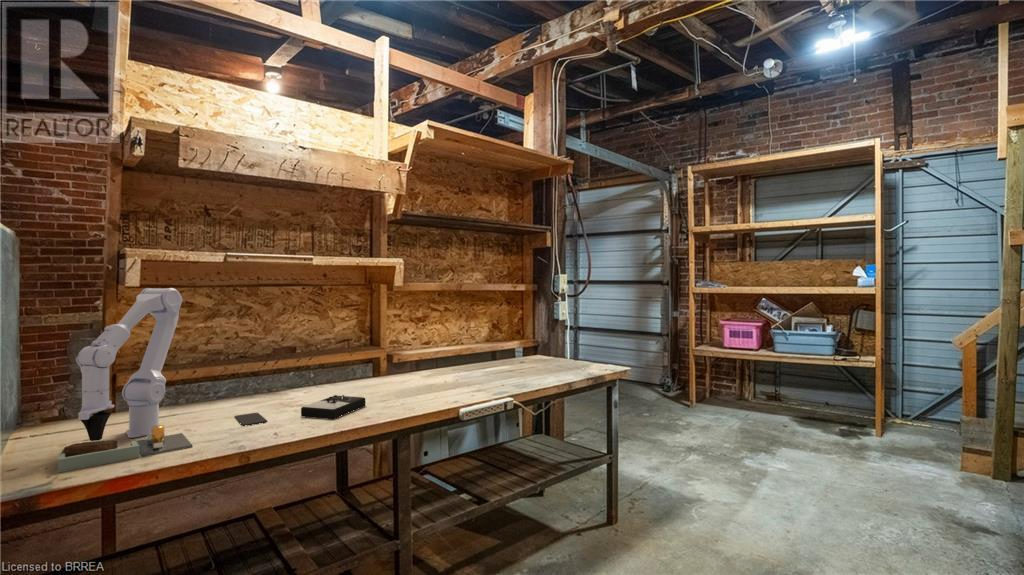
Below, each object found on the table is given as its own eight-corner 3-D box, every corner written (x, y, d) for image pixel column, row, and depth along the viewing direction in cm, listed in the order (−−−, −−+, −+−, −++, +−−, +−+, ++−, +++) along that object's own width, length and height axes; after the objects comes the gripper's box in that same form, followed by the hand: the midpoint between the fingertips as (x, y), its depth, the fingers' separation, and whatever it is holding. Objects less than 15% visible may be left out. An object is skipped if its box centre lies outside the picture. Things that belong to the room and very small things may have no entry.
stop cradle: (57, 466, 123) (57, 453, 123) (136, 451, 133) (136, 440, 133) (57, 472, 119) (57, 459, 119) (139, 457, 129) (139, 445, 129)
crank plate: (135, 443, 141) (135, 440, 141) (181, 435, 148) (181, 432, 148) (142, 456, 130) (142, 453, 130) (192, 447, 137) (192, 444, 137)
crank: (146, 440, 140) (146, 421, 140) (163, 437, 143) (163, 418, 143) (149, 449, 132) (149, 429, 132) (167, 446, 135) (167, 426, 135)
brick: (118, 457, 130) (117, 439, 130) (109, 462, 126) (109, 443, 126) (69, 460, 127) (69, 442, 127) (59, 466, 123) (59, 447, 123)
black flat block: (366, 407, 184) (366, 393, 184) (333, 420, 165) (333, 405, 165) (335, 404, 188) (335, 391, 187) (300, 417, 169) (300, 403, 169)
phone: (257, 412, 174) (268, 420, 162) (257, 414, 174) (268, 423, 162) (233, 415, 169) (242, 425, 157) (233, 418, 169) (242, 427, 157)
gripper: (101, 394, 131) (101, 446, 130) (124, 384, 144) (124, 431, 144) (68, 396, 128) (68, 449, 128) (94, 385, 142) (94, 433, 142)
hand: (95, 440), depth 136 cm, fingers closed
